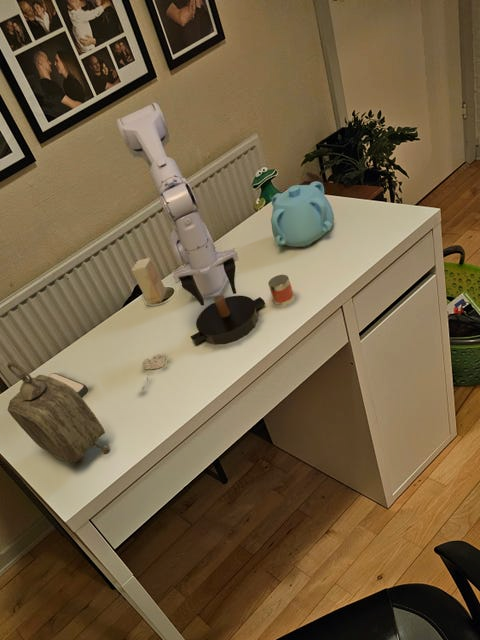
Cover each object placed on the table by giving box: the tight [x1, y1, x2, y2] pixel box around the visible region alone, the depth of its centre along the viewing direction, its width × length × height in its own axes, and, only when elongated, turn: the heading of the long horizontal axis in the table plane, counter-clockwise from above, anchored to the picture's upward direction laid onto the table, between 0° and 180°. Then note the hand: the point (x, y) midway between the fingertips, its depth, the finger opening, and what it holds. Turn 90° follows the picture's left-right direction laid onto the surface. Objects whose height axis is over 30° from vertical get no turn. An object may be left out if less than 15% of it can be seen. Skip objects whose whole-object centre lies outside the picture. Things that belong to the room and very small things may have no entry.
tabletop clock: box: [6, 361, 110, 463], centre depth 105 cm, size 14×9×25 cm, turn 52°
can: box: [267, 274, 295, 307], centre depth 127 cm, size 5×5×6 cm
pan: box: [190, 296, 266, 346], centre depth 127 cm, size 14×19×3 cm
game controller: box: [141, 353, 168, 391], centre depth 124 cm, size 6×12×3 cm, turn 2°
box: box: [130, 257, 167, 305], centre depth 146 cm, size 5×4×11 cm
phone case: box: [47, 372, 88, 398], centre depth 132 cm, size 9×2×16 cm
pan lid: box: [195, 294, 257, 337], centre depth 124 cm, size 15×15×6 cm
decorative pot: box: [270, 181, 335, 248], centre depth 142 cm, size 16×16×14 cm
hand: (218, 297), depth 122 cm, fingers open, 7 cm apart
